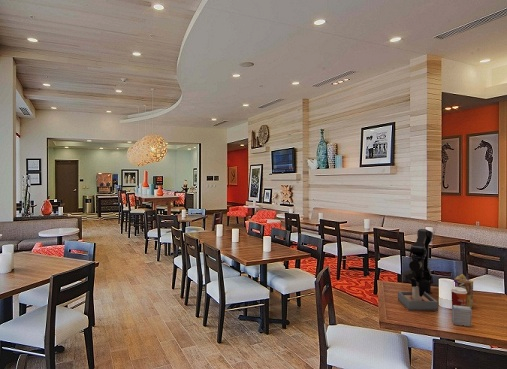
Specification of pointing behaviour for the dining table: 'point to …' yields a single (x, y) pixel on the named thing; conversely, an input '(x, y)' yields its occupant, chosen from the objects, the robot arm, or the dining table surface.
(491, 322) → the dining table surface
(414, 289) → the peg
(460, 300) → the paper cup
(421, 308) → the bin
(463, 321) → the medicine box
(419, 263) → the robot arm
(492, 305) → the dining table surface
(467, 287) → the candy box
